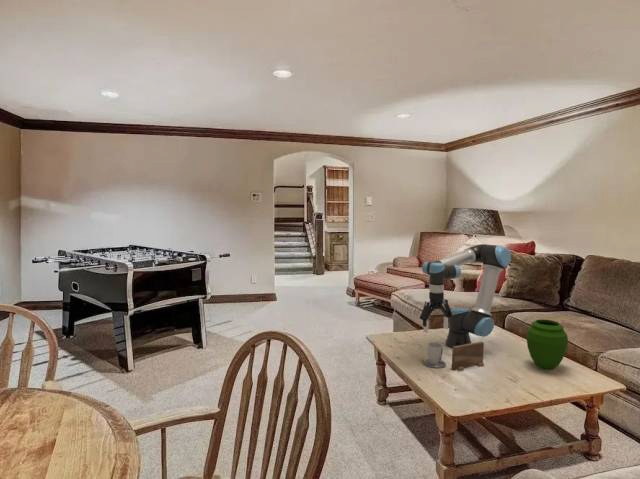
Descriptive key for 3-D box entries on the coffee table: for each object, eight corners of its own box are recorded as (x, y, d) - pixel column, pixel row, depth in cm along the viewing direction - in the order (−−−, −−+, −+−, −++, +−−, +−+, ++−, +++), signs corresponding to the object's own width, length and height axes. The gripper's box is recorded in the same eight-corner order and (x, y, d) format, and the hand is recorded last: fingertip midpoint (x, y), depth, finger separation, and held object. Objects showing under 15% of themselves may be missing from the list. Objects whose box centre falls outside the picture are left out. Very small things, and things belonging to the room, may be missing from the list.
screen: (449, 367, 215) (449, 345, 214) (477, 361, 224) (478, 340, 222) (457, 371, 210) (457, 349, 209) (485, 365, 218) (486, 343, 217)
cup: (443, 366, 215) (443, 348, 215) (427, 365, 217) (427, 347, 216) (441, 360, 223) (442, 343, 222) (426, 359, 225) (427, 341, 224)
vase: (566, 377, 202) (569, 330, 200) (523, 369, 212) (525, 324, 210) (567, 364, 219) (569, 320, 217) (526, 357, 229) (528, 315, 227)
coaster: (418, 361, 223) (418, 360, 223) (435, 358, 228) (435, 357, 228) (433, 370, 212) (433, 368, 212) (450, 366, 217) (450, 365, 217)
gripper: (422, 295, 208) (421, 335, 210) (459, 290, 218) (458, 329, 220) (413, 292, 215) (412, 331, 217) (449, 288, 225) (448, 325, 227)
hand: (435, 330), depth 219 cm, fingers open, 13 cm apart
